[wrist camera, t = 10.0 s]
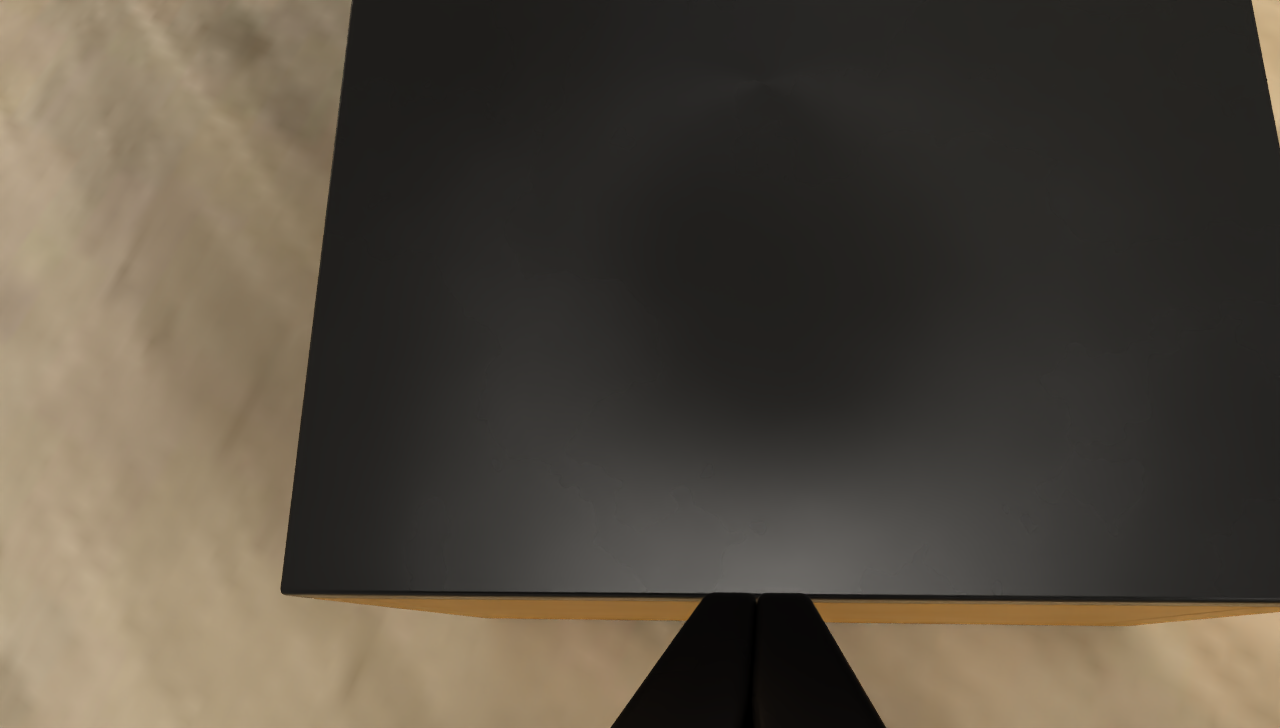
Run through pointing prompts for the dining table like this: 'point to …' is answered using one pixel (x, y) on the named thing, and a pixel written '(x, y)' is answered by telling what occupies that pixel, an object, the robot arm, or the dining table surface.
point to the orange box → (829, 611)
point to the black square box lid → (797, 305)
